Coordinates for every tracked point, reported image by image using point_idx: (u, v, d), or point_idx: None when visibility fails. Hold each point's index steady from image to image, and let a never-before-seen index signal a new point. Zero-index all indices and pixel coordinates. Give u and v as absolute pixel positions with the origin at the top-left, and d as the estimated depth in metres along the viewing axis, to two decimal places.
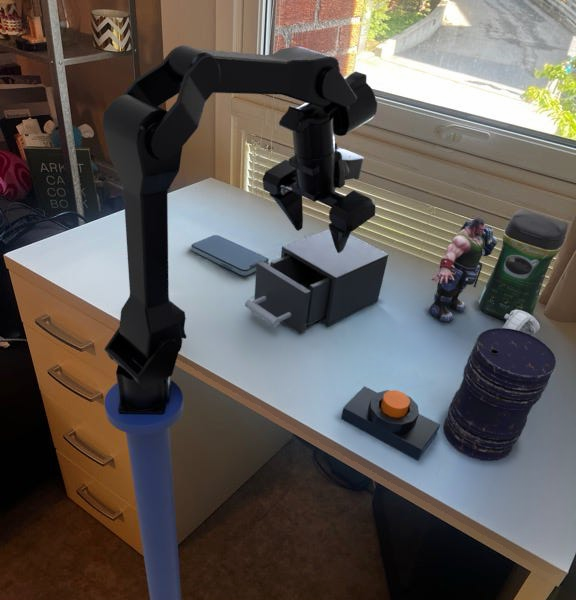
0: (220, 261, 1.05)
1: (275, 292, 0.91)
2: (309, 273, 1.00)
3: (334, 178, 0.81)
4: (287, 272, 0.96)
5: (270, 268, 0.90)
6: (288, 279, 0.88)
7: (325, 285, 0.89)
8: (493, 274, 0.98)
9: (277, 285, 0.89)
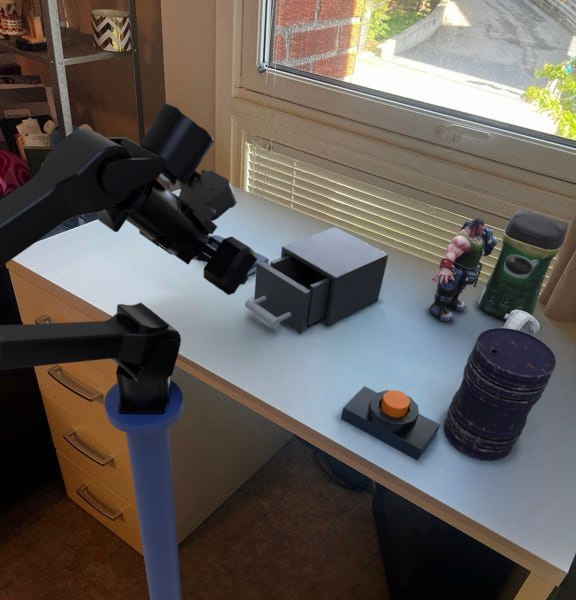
0: None
1: (275, 292, 0.91)
2: (309, 273, 1.00)
3: (199, 230, 0.68)
4: (287, 272, 0.96)
5: (270, 268, 0.90)
6: (288, 279, 0.88)
7: (325, 285, 0.89)
8: (493, 274, 0.98)
9: (277, 285, 0.89)
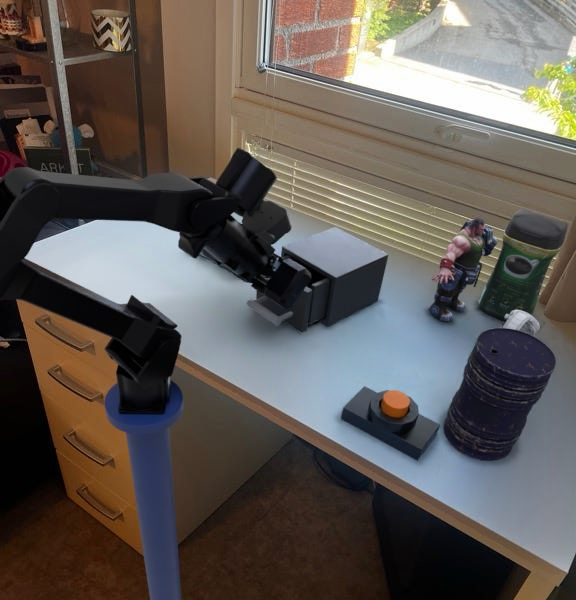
0: None
1: None
2: (310, 272, 1.00)
3: (260, 253, 0.78)
4: None
5: None
6: None
7: (327, 284, 0.89)
8: (493, 274, 0.98)
9: None
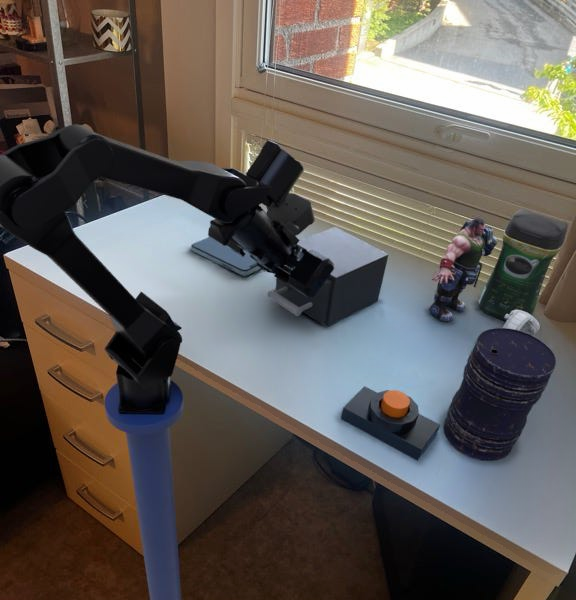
0: (220, 261, 1.05)
1: None
2: None
3: (285, 244, 0.81)
4: None
5: None
6: None
7: None
8: (493, 274, 0.98)
9: None
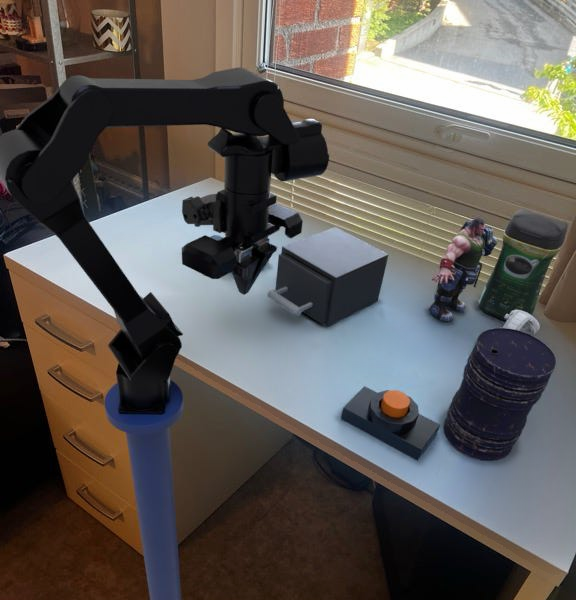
0: None
1: (297, 283, 0.93)
2: None
3: None
4: None
5: (292, 259, 0.93)
6: (310, 270, 0.91)
7: None
8: (493, 274, 0.98)
9: (299, 276, 0.92)
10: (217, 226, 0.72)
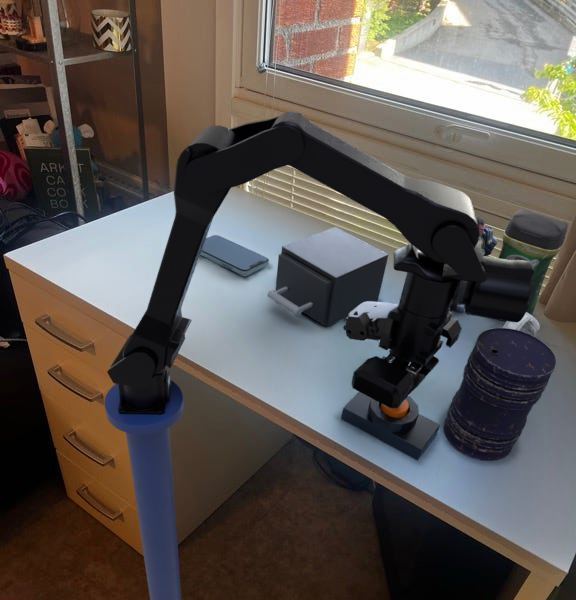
0: (220, 261, 1.05)
1: (297, 283, 0.93)
2: None
3: None
4: None
5: (292, 259, 0.93)
6: (310, 270, 0.91)
7: None
8: None
9: (299, 276, 0.92)
10: (385, 343, 0.67)
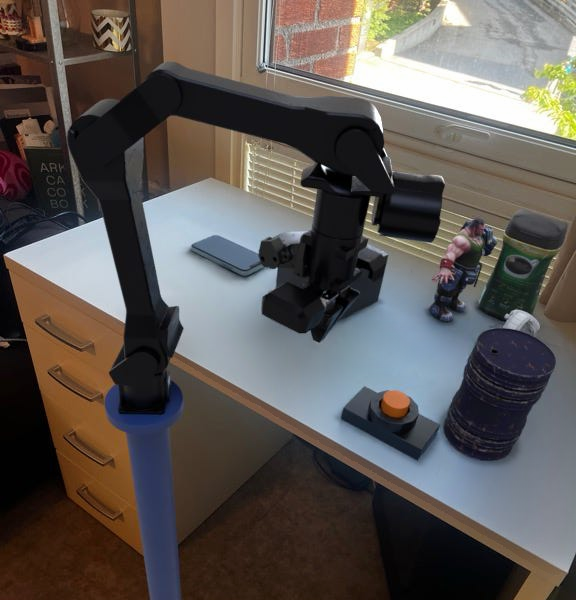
0: (220, 261, 1.05)
1: (297, 283, 0.93)
2: None
3: None
4: None
5: None
6: None
7: None
8: (493, 274, 0.98)
9: None
10: (299, 271, 0.64)
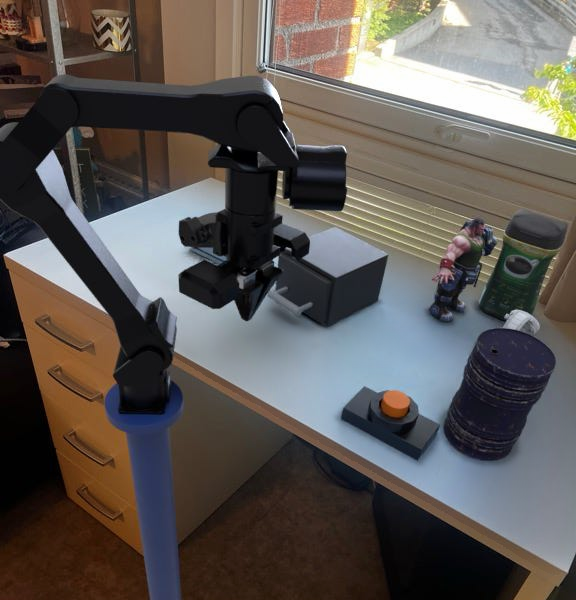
0: (220, 261, 1.05)
1: (297, 283, 0.93)
2: None
3: None
4: None
5: (292, 259, 0.93)
6: (310, 270, 0.91)
7: None
8: (493, 274, 0.98)
9: (299, 276, 0.92)
10: (217, 249, 0.65)
